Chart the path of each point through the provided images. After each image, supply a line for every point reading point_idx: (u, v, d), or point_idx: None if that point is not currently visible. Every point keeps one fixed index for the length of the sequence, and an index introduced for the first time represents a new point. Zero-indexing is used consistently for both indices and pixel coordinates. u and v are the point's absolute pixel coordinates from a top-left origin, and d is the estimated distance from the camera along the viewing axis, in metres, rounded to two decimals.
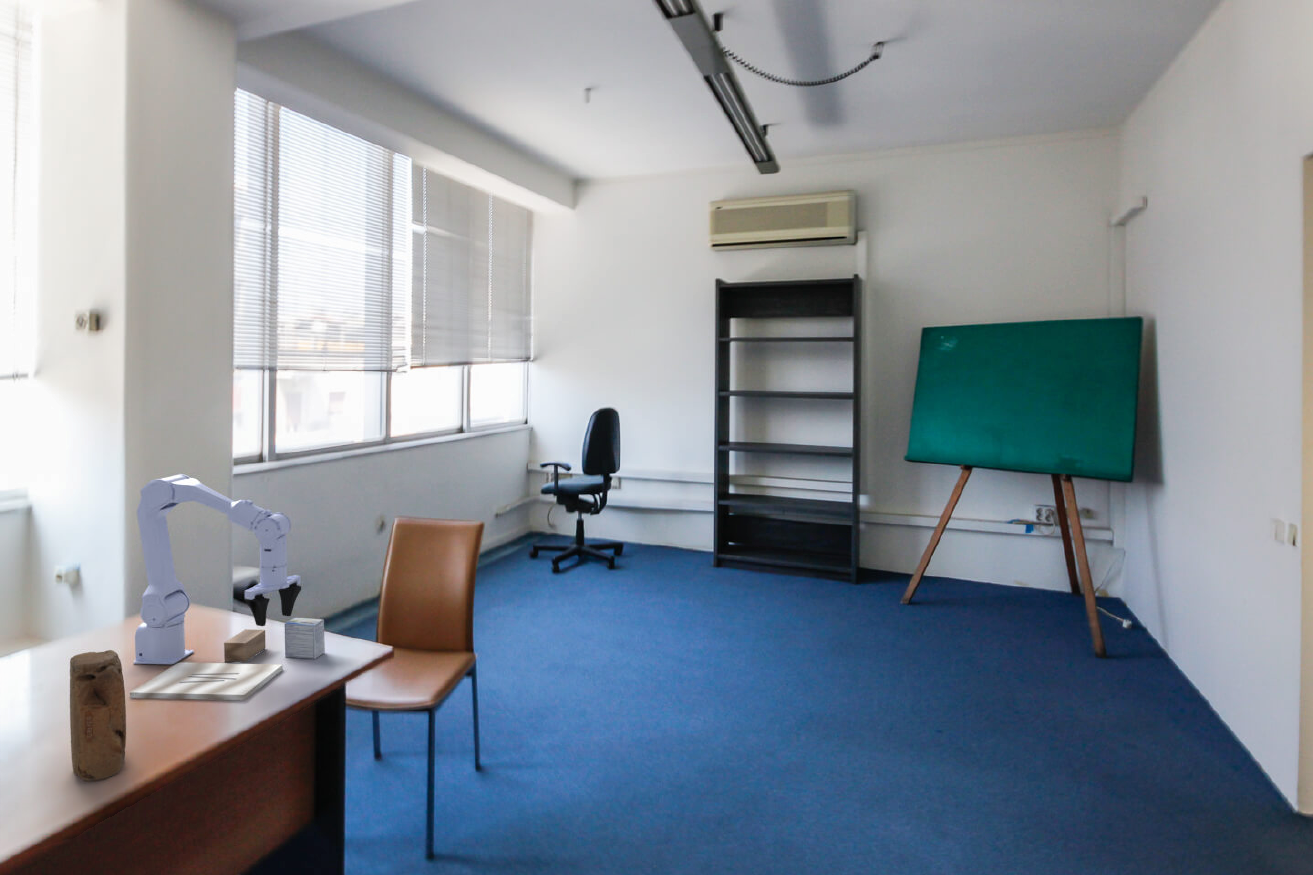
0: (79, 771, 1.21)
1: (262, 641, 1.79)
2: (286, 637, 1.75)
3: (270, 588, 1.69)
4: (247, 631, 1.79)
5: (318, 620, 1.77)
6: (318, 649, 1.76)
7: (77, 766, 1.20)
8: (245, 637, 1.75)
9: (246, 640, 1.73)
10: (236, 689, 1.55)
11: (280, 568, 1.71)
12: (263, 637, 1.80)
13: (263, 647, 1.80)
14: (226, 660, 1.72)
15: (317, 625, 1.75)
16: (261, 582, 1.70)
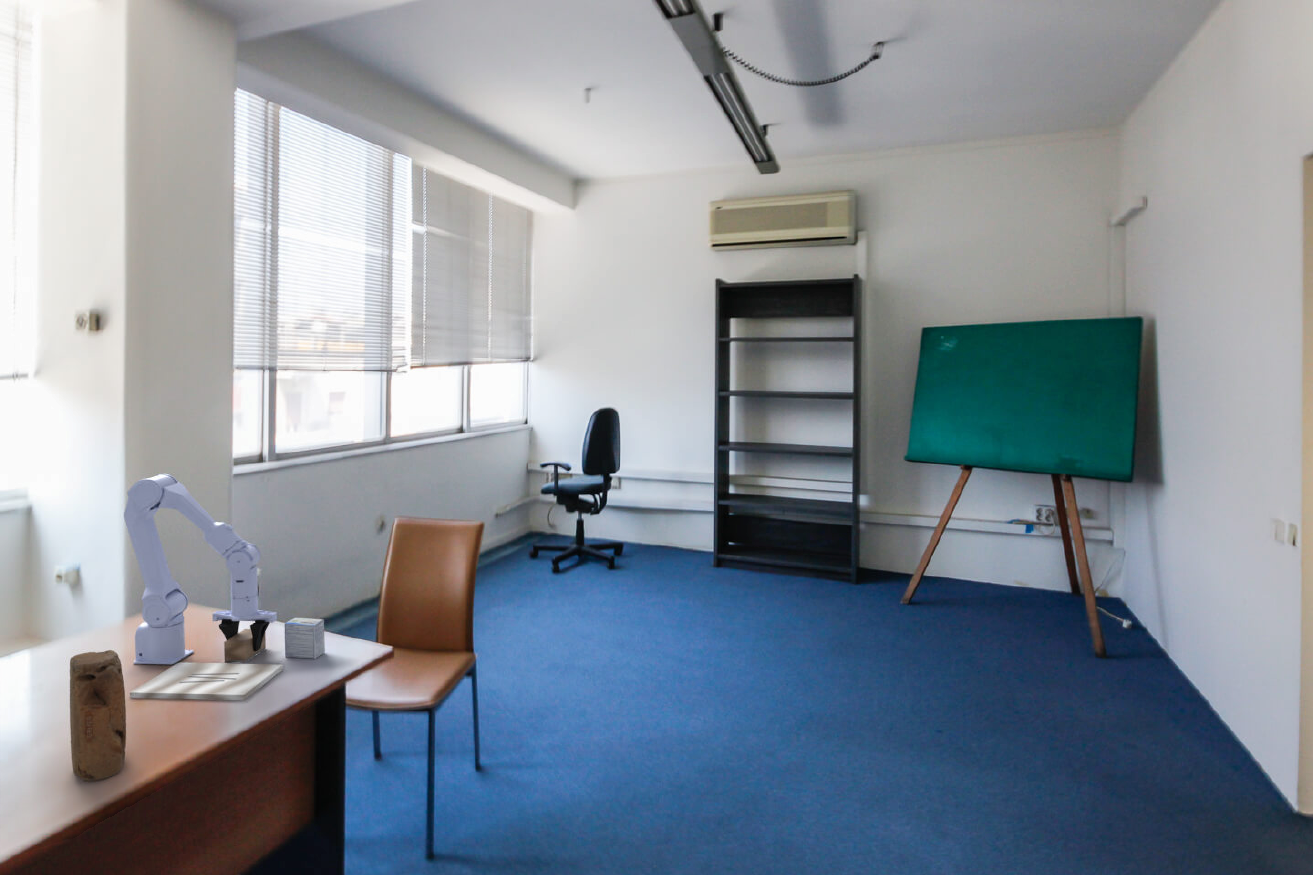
0: (79, 771, 1.21)
1: (262, 640, 1.79)
2: (286, 637, 1.75)
3: (227, 616, 1.73)
4: (247, 630, 1.79)
5: (318, 620, 1.77)
6: (318, 649, 1.76)
7: (77, 766, 1.20)
8: (245, 636, 1.75)
9: (246, 639, 1.73)
10: (236, 689, 1.55)
11: (235, 600, 1.72)
12: None
13: (263, 646, 1.80)
14: (226, 659, 1.72)
15: (317, 625, 1.75)
16: None
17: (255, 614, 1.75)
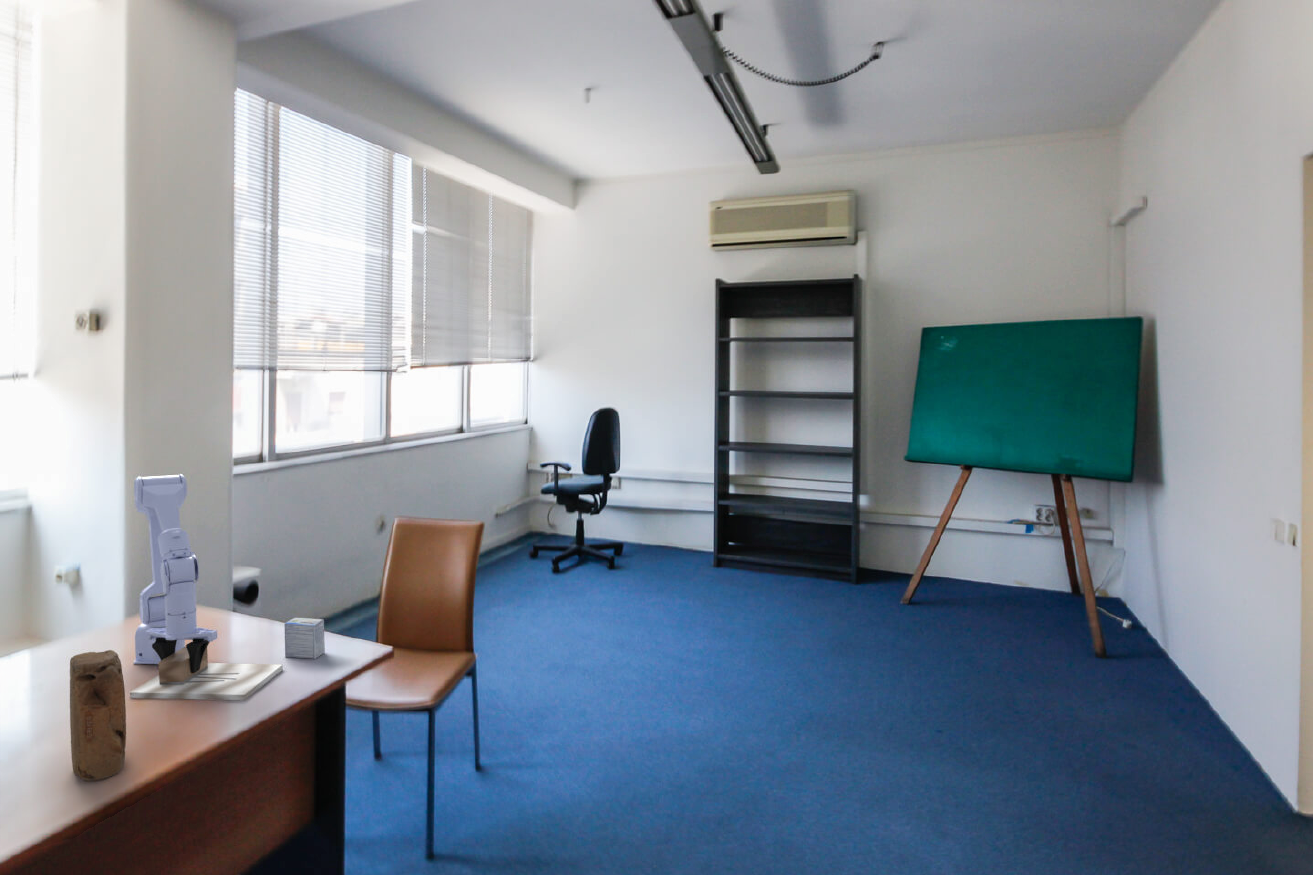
0: (79, 771, 1.21)
1: (203, 659, 1.64)
2: (286, 637, 1.75)
3: (161, 635, 1.57)
4: None
5: (318, 620, 1.77)
6: (318, 649, 1.76)
7: (77, 766, 1.20)
8: (183, 655, 1.60)
9: (183, 659, 1.58)
10: (236, 689, 1.55)
11: (169, 617, 1.56)
12: (205, 655, 1.64)
13: (205, 666, 1.64)
14: (161, 681, 1.56)
15: (317, 625, 1.75)
16: None
17: (193, 632, 1.59)
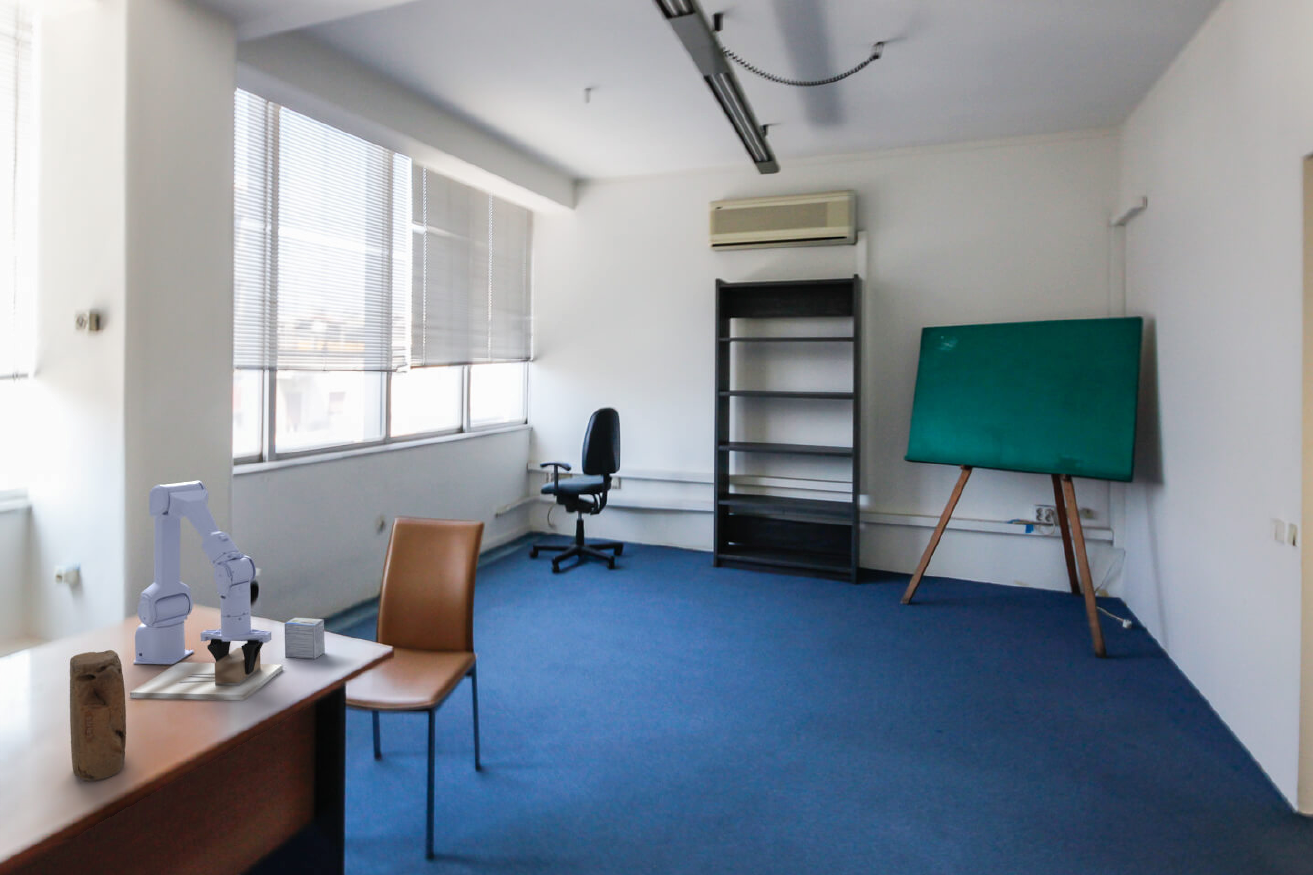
0: (79, 771, 1.21)
1: (257, 660, 1.64)
2: (286, 637, 1.75)
3: (217, 636, 1.57)
4: (240, 649, 1.64)
5: (318, 620, 1.77)
6: (318, 649, 1.76)
7: (77, 766, 1.20)
8: (238, 656, 1.60)
9: (239, 660, 1.58)
10: (236, 689, 1.55)
11: (225, 618, 1.56)
12: (258, 656, 1.64)
13: (258, 667, 1.64)
14: (217, 682, 1.56)
15: (317, 625, 1.75)
16: None
17: (247, 633, 1.59)
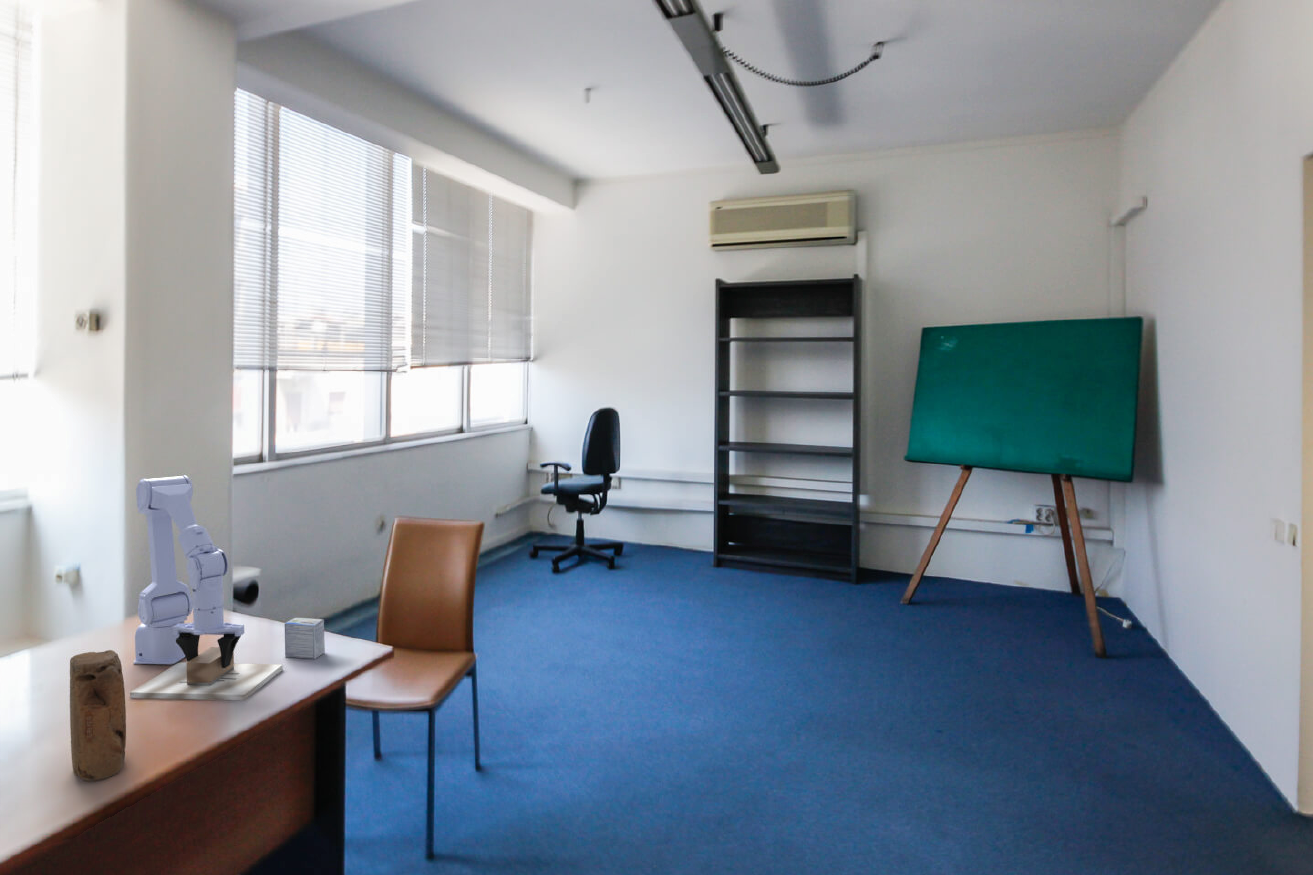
0: (79, 771, 1.21)
1: None
2: (286, 637, 1.75)
3: (189, 630, 1.57)
4: (213, 649, 1.63)
5: (318, 620, 1.77)
6: (318, 649, 1.76)
7: (77, 766, 1.20)
8: (210, 656, 1.60)
9: (211, 660, 1.58)
10: (236, 689, 1.55)
11: (197, 611, 1.56)
12: None
13: (231, 666, 1.64)
14: (189, 682, 1.56)
15: (317, 625, 1.75)
16: None
17: (220, 627, 1.59)
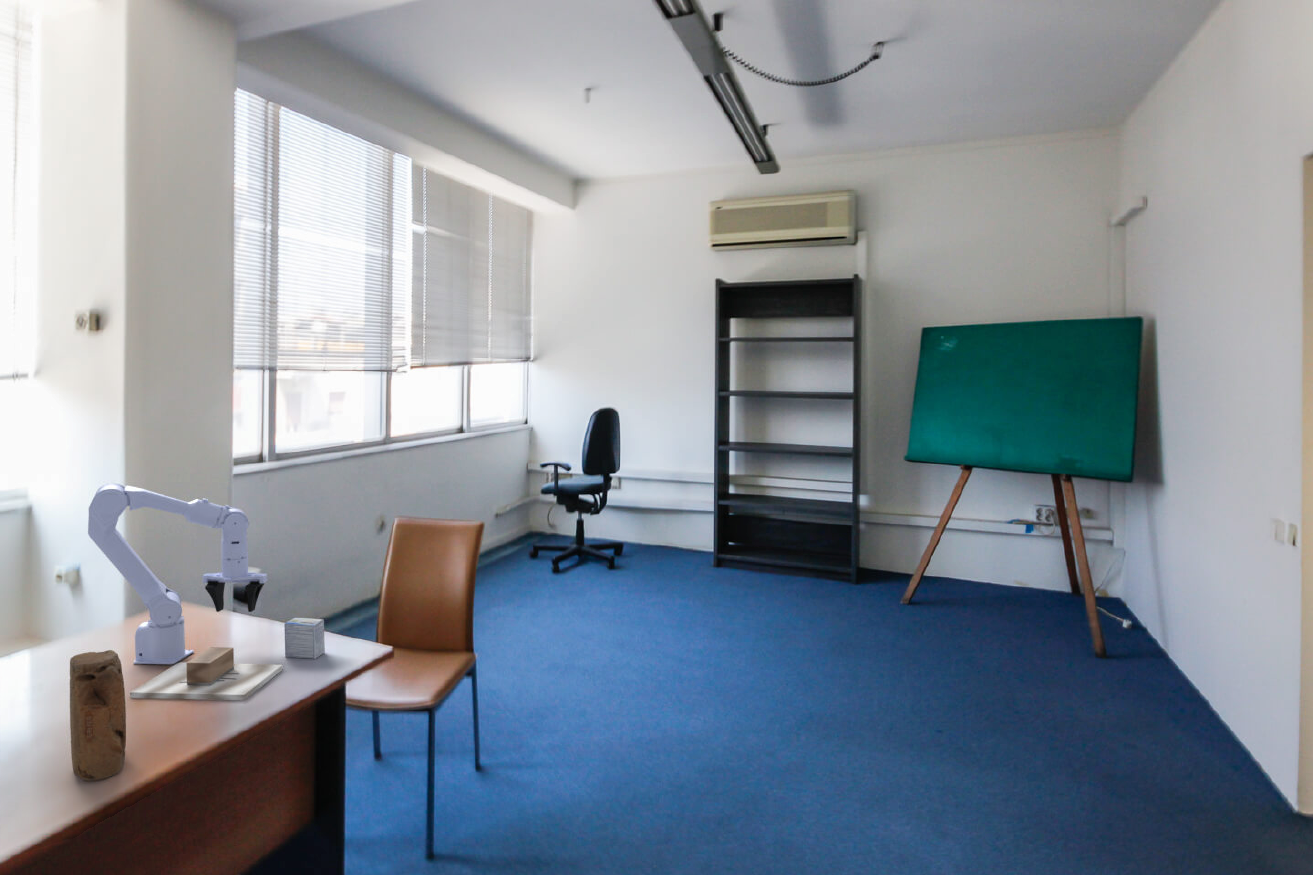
0: (79, 771, 1.21)
1: (230, 660, 1.64)
2: (286, 637, 1.75)
3: (218, 578, 1.77)
4: (213, 649, 1.63)
5: (318, 620, 1.77)
6: (318, 649, 1.76)
7: (77, 766, 1.20)
8: (210, 656, 1.60)
9: (211, 660, 1.58)
10: (236, 689, 1.55)
11: (226, 561, 1.77)
12: (231, 656, 1.64)
13: (231, 666, 1.64)
14: (189, 682, 1.56)
15: (317, 625, 1.75)
16: None
17: (246, 575, 1.79)
